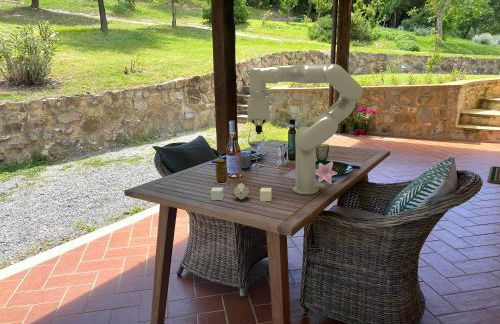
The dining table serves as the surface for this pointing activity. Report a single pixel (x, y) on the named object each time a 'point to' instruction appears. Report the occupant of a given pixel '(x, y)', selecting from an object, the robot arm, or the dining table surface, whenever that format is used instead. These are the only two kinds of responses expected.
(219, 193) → the grey-green block
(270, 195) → the off-white block
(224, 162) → the condiment
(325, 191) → the dining table surface
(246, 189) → the game die
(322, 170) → the lily
